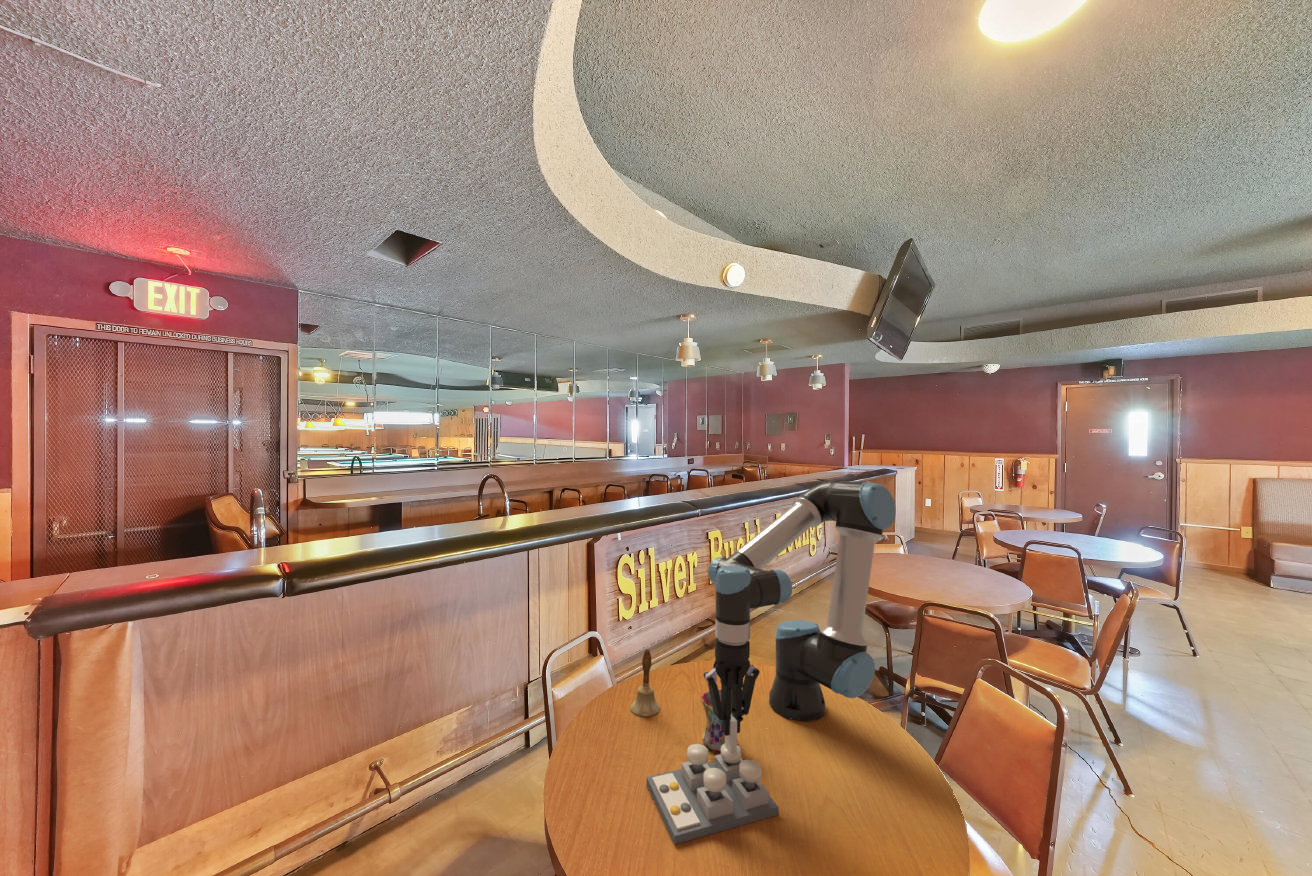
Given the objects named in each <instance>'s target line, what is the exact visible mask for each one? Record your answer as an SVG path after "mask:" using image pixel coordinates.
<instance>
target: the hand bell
mask: <svg viewBox="0 0 1312 876" xmlns="http://www.w3.org/2000/svg"><path fill="white" fill-rule="evenodd" d="M650 650H651V649H649V648H646V649H645V650H644V652H643V655H642V659H641V661H642V662H641V665H642V671H643V678H642V685H640V686H639V687H638V688H637V693H636V697H635V700H634V701H633V702H632V703H631V705H630V707H629V708H630V711H631V713H632V714H633V715H636V716H638V717H645V718H646V717H647V718H648V717H652V716H655V715H657V714H659V712H660V711H661V706H660V703H659V702H657V700H656V697H655V690H654V687H653V686H651V685H650V670H651V669H652V655H651V651H650Z"/></svg>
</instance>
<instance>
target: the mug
mask: <svg viewBox="0 0 1312 876" xmlns="http://www.w3.org/2000/svg"><path fill="white" fill-rule="evenodd" d="M718 691H719V696H720V701H721V689H718ZM731 698H732V693H731ZM700 701H701V703H702V706H703V709H704V712H705V718H706V719H705V721H706V722H705V723H706V725H705V729H704V732H703V734H702V737H701V738H702V741H703V743H704V746H705V747H706V748H709V749H711V750H713V751H715V752H721V746H722V745H723V744H725V735H724V733H723V732H722V720H719V719H718V717H717V716H716V715H715V714H714V711H713V707H712V702H711V697H710V692H709V690H708V691H705V692H704V693H703V694H702V696H701V698H700ZM731 715H732V712H731Z"/></svg>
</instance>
